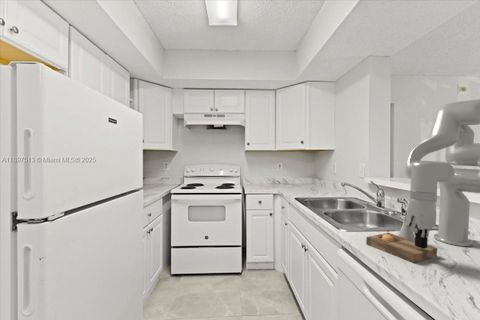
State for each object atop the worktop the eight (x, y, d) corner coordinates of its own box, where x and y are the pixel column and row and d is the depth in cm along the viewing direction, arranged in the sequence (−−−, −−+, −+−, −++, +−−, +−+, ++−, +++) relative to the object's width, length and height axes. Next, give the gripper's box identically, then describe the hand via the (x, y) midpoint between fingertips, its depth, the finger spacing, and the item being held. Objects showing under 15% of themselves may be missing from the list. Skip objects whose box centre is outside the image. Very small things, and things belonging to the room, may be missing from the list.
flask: (397, 236, 106) (398, 214, 106) (417, 240, 102) (418, 217, 101) (395, 241, 101) (396, 218, 100) (416, 245, 96) (417, 221, 96)
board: (388, 239, 102) (388, 232, 102) (436, 256, 86) (437, 248, 86) (366, 244, 97) (366, 236, 96) (413, 263, 80) (414, 254, 80)
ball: (385, 243, 98) (395, 247, 94) (378, 243, 97) (388, 247, 93) (387, 233, 98) (397, 237, 94) (379, 232, 97) (389, 236, 93)
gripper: (423, 193, 90) (421, 240, 91) (399, 195, 84) (396, 246, 85) (447, 197, 84) (445, 248, 84) (422, 199, 77) (419, 254, 78)
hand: (420, 246), depth 85 cm, fingers closed
